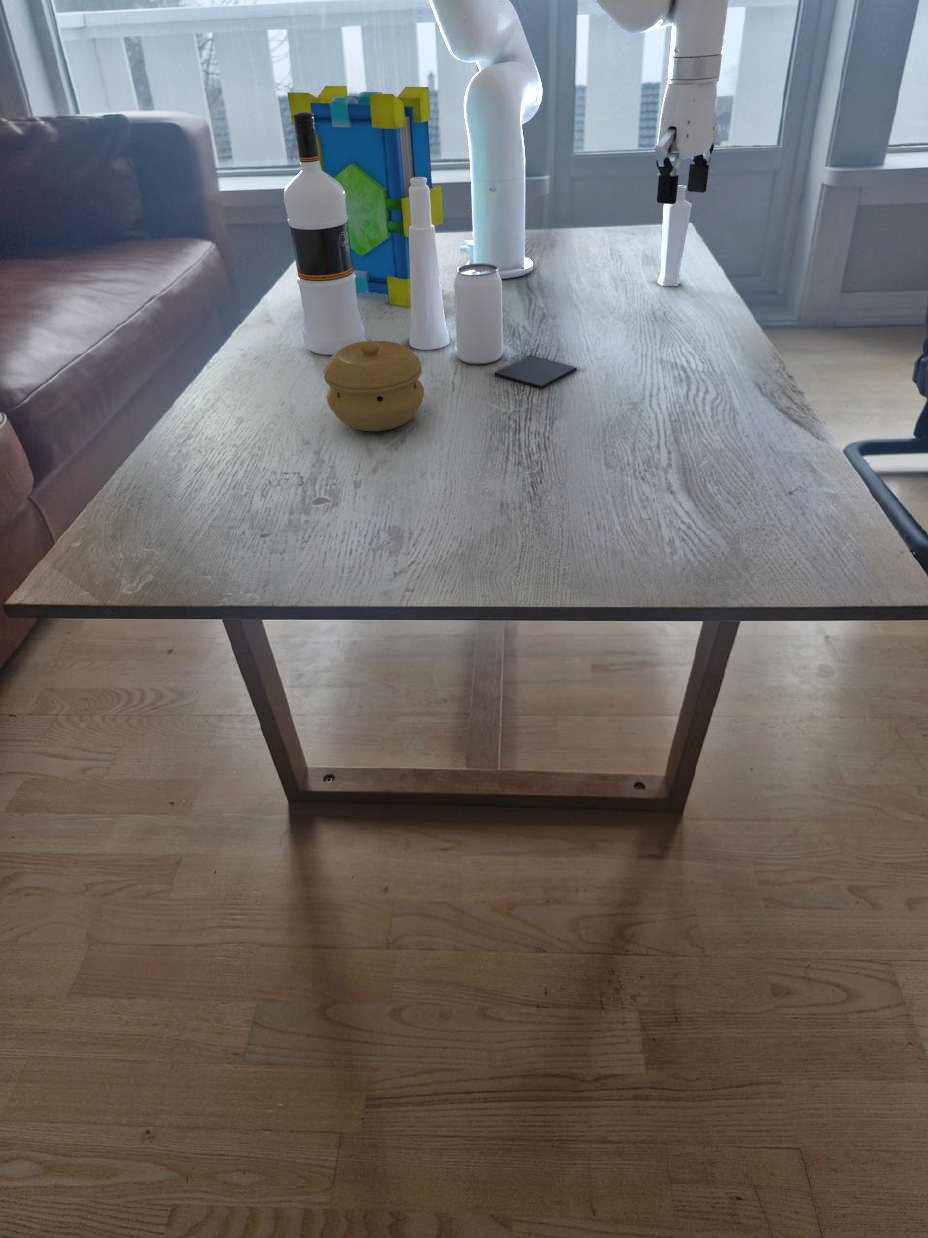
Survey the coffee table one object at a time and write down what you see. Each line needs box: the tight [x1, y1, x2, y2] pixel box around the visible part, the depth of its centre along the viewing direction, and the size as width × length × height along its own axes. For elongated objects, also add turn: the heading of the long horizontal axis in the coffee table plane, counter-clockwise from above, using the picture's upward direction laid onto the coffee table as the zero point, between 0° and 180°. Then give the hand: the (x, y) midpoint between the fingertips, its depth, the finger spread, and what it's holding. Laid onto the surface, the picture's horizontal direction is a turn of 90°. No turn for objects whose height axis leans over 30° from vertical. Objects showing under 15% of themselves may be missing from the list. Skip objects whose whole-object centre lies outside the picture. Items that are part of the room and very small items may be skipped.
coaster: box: [494, 354, 577, 390], centre depth 108 cm, size 8×8×1 cm
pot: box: [323, 339, 425, 432], centre depth 95 cm, size 12×12×10 cm
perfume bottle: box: [657, 184, 693, 287], centre depth 133 cm, size 5×4×15 cm
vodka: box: [283, 112, 367, 356], centre depth 111 cm, size 9×9×30 cm
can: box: [453, 263, 503, 366], centre depth 110 cm, size 6×6×12 cm
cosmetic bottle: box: [408, 177, 450, 351], centre depth 112 cm, size 6×6×22 cm
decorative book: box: [286, 85, 444, 308], centre depth 132 cm, size 14×23×30 cm, turn 58°
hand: (681, 197), depth 130 cm, fingers open, 9 cm apart
